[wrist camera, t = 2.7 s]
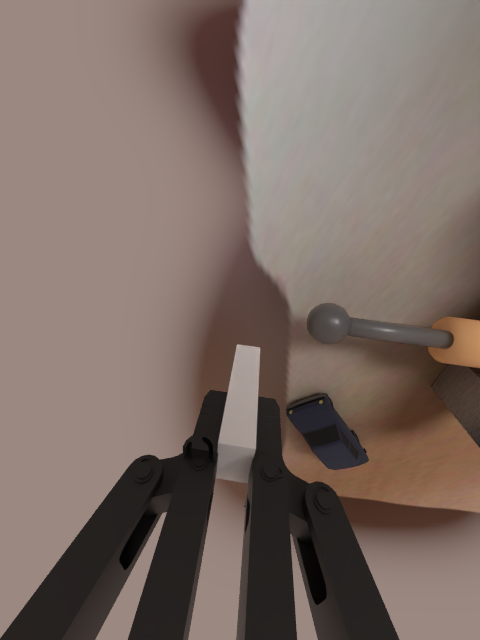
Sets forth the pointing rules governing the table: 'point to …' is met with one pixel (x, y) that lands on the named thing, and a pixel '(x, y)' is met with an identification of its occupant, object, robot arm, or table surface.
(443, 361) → the wood and metal rod
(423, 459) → the table surface
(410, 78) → the table surface
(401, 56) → the table surface
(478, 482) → the table surface
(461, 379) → the housing
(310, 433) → the toy car
